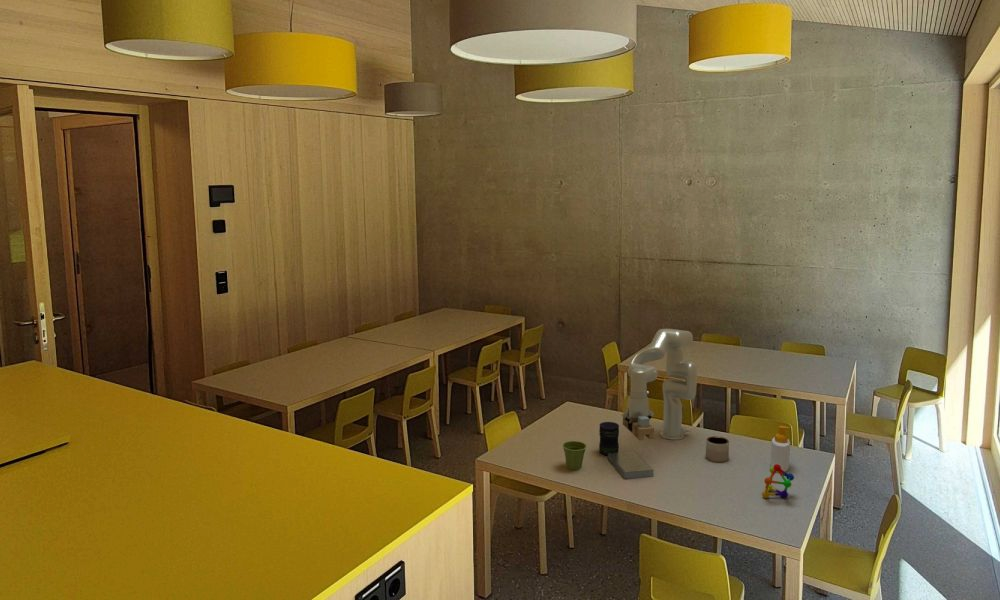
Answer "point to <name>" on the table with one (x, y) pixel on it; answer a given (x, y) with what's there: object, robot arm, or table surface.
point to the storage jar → (608, 438)
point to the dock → (630, 465)
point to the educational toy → (777, 482)
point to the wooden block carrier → (639, 429)
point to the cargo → (643, 421)
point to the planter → (717, 449)
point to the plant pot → (574, 454)
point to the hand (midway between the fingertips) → (637, 429)
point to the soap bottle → (780, 449)
